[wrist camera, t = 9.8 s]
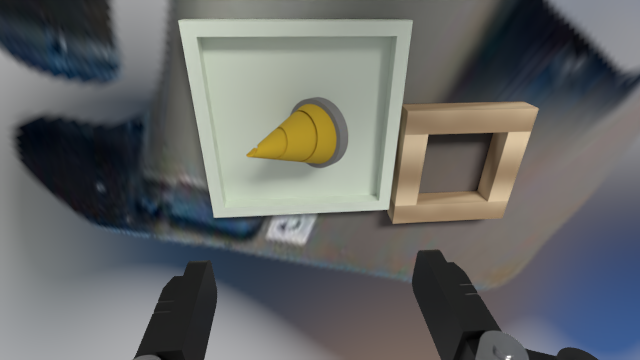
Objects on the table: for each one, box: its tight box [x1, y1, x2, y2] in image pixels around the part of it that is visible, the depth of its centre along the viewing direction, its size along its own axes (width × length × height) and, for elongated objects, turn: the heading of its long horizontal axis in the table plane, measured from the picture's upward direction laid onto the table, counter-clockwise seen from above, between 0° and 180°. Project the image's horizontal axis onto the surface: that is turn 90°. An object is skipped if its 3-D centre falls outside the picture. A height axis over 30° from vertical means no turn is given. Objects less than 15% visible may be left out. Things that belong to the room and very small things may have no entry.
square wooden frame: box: [387, 102, 539, 224], centre depth 30 cm, size 11×11×2 cm
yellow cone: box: [246, 97, 348, 168], centre depth 24 cm, size 5×5×10 cm
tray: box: [178, 19, 413, 218], centre depth 27 cm, size 16×16×2 cm
